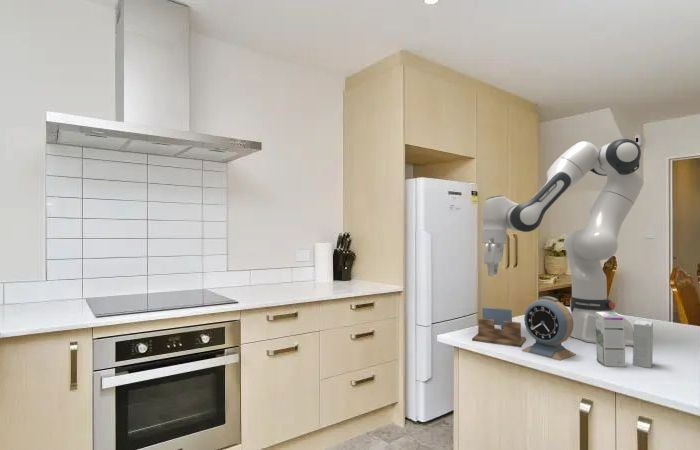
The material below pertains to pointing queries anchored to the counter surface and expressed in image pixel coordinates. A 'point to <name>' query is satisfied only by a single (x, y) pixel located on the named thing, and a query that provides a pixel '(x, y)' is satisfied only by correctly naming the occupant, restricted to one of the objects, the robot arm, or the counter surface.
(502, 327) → the blue slotted plate
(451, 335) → the counter surface
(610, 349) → the syrup box
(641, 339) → the skincare box
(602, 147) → the robot arm
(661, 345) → the counter surface
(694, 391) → the counter surface
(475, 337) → the walnut joint base
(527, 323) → the alarm clock
